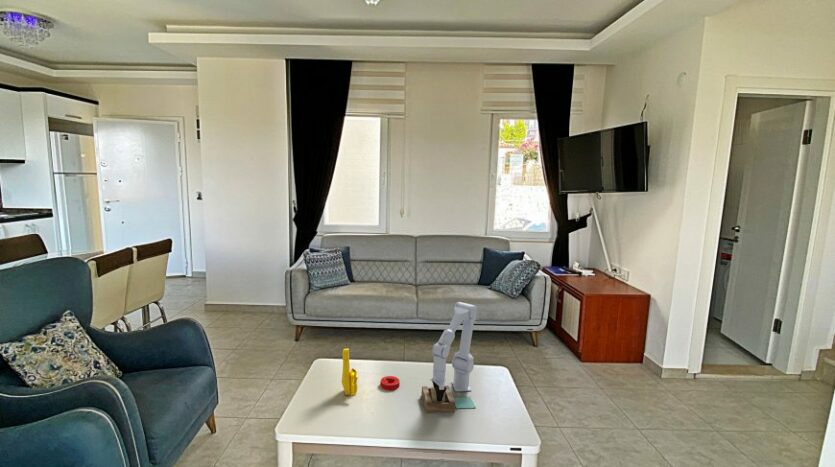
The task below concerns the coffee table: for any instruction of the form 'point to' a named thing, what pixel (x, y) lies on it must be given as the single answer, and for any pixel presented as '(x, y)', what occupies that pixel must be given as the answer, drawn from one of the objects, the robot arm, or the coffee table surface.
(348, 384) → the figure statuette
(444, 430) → the coffee table surface
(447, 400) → the slotted box
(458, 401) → the teal mat
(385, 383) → the decorative ornament
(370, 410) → the coffee table surface
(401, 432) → the coffee table surface
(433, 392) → the maple block
